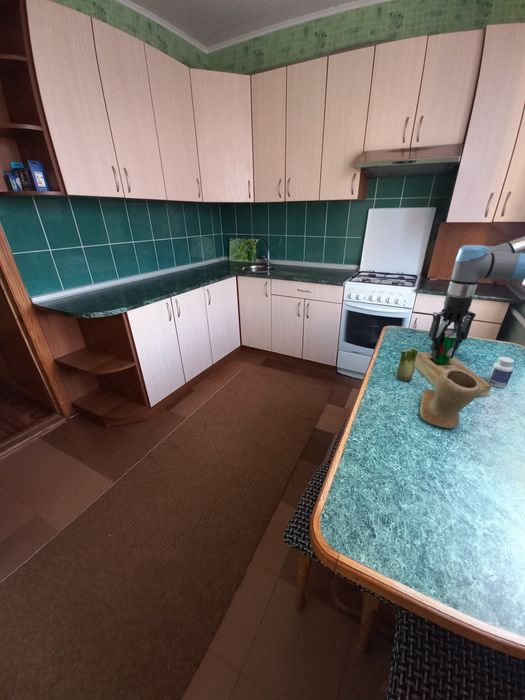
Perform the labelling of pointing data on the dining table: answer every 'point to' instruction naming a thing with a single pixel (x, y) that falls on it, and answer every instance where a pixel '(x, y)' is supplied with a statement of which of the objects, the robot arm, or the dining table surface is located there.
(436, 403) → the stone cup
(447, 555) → the dining table surface
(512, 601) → the dining table surface
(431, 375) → the socket block
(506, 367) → the pill bottle
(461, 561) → the dining table surface
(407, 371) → the fennel bulb
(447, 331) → the soda can
